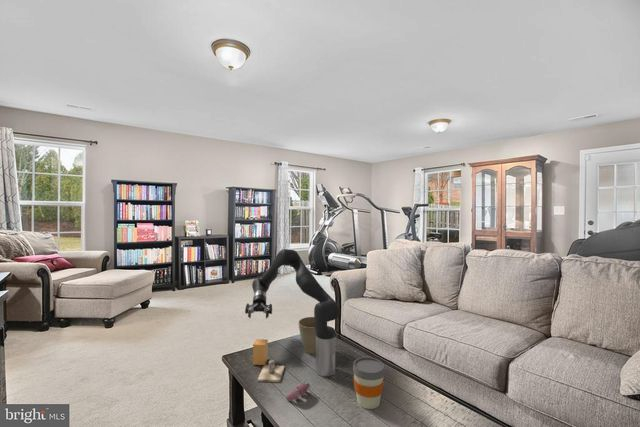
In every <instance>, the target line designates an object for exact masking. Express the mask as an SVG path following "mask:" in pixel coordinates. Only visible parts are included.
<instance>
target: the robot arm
mask: <svg viewBox="0 0 640 427" xmlns="http://www.w3.org/2000/svg"><path fill="white" fill-rule="evenodd" d="M282 266H285V267H286V266H288V267H292V269H294V271H295V272H296V273H295V282H296V284H297V286H298V287H299V289H300V291H302V293H303V294H306V295H307V296H308V297H310V298H312V299H314V300H315V301H318V302H317V303H316V304H315V306H314V310H313V312H314V313H313V317H314V320H315V331H316V354H315V373H316V375H318V376H320V377H331V376H335V375H336V329H335V328H334V327H332V326H329V325H328V323H329V322H331V321H332V322H333V321H335V320H338V319H339V317H340V316H341V312H340V311H341V310H340V308H339V306H338V303H337V301H335V300H334V298H332V297H331V296H330V295H329V294H328V293H327V291H326V290H325V289H324V288H323V287H322V285H321V284H320V283H319V282H318V280H317V279H316V278H315V277H314V275H313V274H312V273H311V271H310V270H309V269H308V267H307V266H306V264H305V263H304V262H303V260H302V258H301V256H300V255H299V253H298V252H297V251H296V250H294V249H289V248H288V249H287V248H285V249H284V248H283V249H280V250H279V251H278V253H277V254H276V256H275V258H274V259H273V261H272V263H271V264H270V266H269V268H268V269H267V270H266V271H265V272H264V273H263V274H262V275H261V278H260V277H255V278H254V279H253V281H252V285H251V286H252V287H251V288H252V290H253V296H252V304H249V303H246V306H245V308H244V314H246V315H247V318H249V319H251V317H252V314H254V313H255V312H260V313H263V314H265V319H269V316H270V315H272V314H273V304H272V303H270V304H269V305H268V304H267V292H268V291H269V289H270V287H271V284H272V283H273V281H275V279H276V278H277V276H278V275H279V268H281V267H282Z"/></svg>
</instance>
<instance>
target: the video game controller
mask: <svg viewBox="0 0 640 427" xmlns="http://www.w3.org/2000/svg"><path fill="white" fill-rule="evenodd" d="M310 387H311V384H310V383H309V382H307V381H304V382H302V383H298V385H297V386H296V387H295V388H294V389H293V390H292V391H291V392H289V393H288V394H287V395H286V398H285V399H286V401H288V402H292V401H294V400H295V401H298V400H299V399H300V397H303V396H305V394H306V392H307V391H309V389H310Z"/></svg>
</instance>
